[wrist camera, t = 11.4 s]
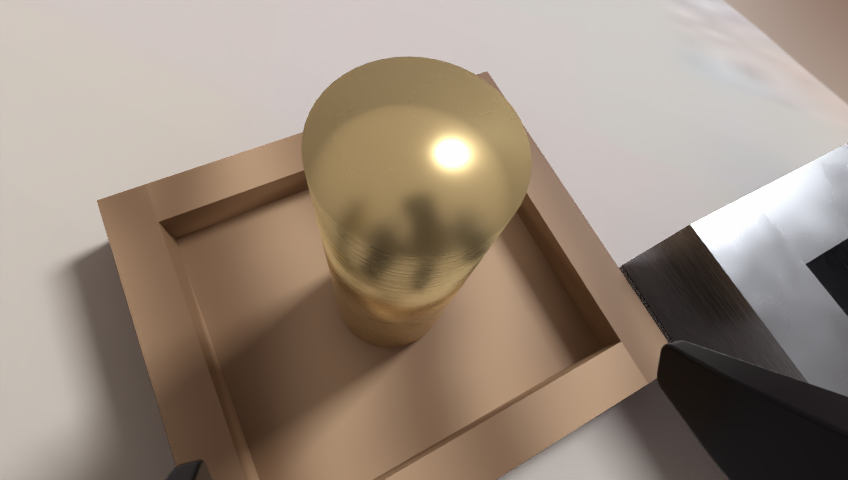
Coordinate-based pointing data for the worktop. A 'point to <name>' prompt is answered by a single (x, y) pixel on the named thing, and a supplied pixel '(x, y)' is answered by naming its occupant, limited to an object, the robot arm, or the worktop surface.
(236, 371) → the walnut tray
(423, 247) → the tan rounded piece
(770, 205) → the chuck socket
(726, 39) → the worktop surface
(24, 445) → the worktop surface
